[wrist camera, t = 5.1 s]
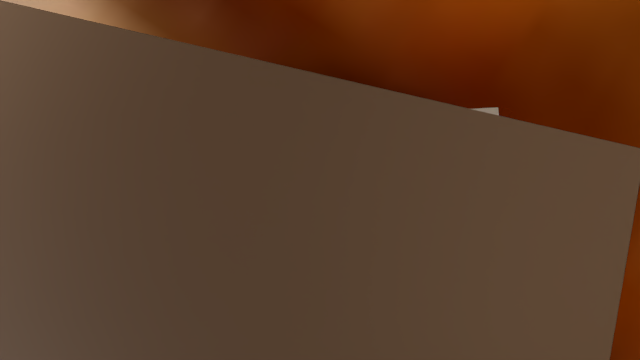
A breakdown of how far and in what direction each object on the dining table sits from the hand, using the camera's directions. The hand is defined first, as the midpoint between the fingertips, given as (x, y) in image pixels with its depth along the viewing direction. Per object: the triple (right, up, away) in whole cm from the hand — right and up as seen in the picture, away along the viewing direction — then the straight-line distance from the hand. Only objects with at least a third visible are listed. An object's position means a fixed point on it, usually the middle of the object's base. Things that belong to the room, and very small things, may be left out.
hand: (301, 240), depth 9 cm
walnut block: (0, -2, +6) cm, 6 cm away
